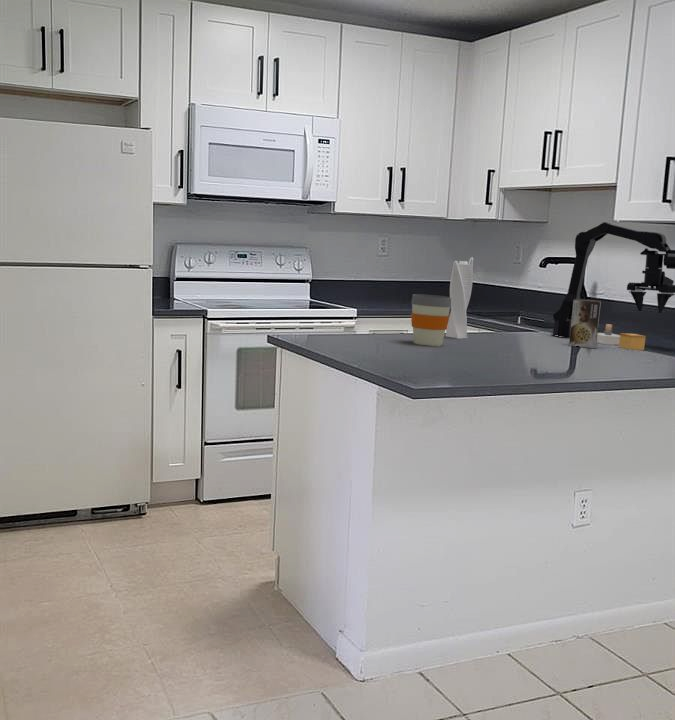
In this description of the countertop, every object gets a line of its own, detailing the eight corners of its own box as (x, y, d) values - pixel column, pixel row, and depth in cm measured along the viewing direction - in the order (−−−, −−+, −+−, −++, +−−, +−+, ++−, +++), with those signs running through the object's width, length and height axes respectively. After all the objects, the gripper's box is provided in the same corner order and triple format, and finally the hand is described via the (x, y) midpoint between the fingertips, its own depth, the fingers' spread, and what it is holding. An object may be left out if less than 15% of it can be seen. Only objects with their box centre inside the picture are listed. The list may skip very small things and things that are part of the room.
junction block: (604, 344, 308) (606, 325, 307) (587, 340, 318) (589, 322, 317) (626, 345, 312) (629, 326, 311) (609, 341, 321) (611, 323, 320)
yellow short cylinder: (629, 349, 297) (631, 335, 296) (618, 347, 302) (620, 333, 301) (643, 350, 299) (645, 336, 298) (632, 347, 304) (634, 333, 303)
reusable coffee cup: (421, 346, 261) (426, 297, 259) (400, 340, 272) (404, 293, 270) (455, 346, 267) (460, 298, 264) (433, 341, 278) (437, 294, 275)
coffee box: (596, 347, 297) (601, 300, 295) (595, 348, 291) (601, 301, 289) (569, 344, 300) (574, 298, 298) (568, 345, 294) (573, 299, 292)
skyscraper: (473, 339, 294) (481, 257, 290) (459, 340, 288) (467, 257, 284) (453, 336, 299) (460, 256, 295) (439, 337, 294) (447, 255, 290)
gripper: (691, 269, 299) (687, 314, 301) (649, 268, 315) (646, 310, 317) (668, 268, 294) (664, 314, 296) (627, 267, 310) (624, 310, 312)
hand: (650, 312), depth 305 cm, fingers open, 9 cm apart
